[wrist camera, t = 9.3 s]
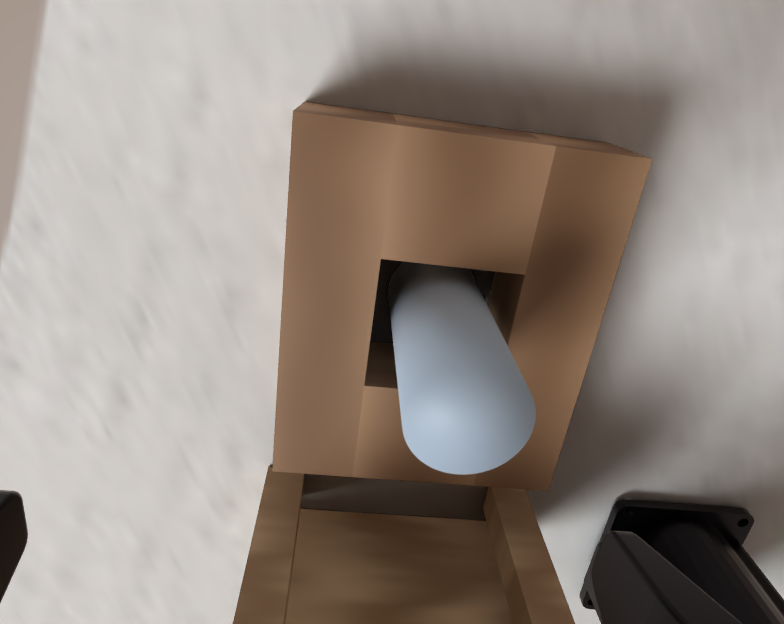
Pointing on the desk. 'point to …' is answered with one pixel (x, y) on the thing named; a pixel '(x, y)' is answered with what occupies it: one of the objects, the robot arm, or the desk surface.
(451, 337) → the peg
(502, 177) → the socket station
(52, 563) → the desk surface
